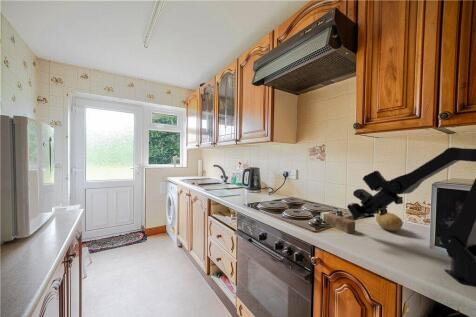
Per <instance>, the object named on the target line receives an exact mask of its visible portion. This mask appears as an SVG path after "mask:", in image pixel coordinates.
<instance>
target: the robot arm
mask: <svg viewBox="0 0 476 317" xmlns="http://www.w3.org/2000/svg"><path fill="white" fill-rule="evenodd" d="M460 161H461V162H471V163H472V162H473V163H476V148H461V147H453V146H452V147H448V148H446V149H445V150H444V151H443V152H441V153H440V154H438V155H436V156H434V157H433V158H432V159H430V160H428V161H427V162H425V163H424V164H422V165H420V166H419V167H417V168H415V169H414V170H413V171H410V172H408V173H405V174H403V175H398V176H396V177H394V178H391V179H390V180H386V178H385V177H384V176H383V175H382V174H381V172H380V171H379V170H374V171H373V172H370V173H368V174H366V175H364V176H363V178H362V181H363V182H364V183H365V184H366V185H367V186H368V187H367V188H369V189H370V190H371V191H375V192H376V193H375V194H373V195H372V193H370V192H369V191H368V190H366V189H363V188H357V189H355V190H354V191H353V194H352V195H353V196H354V197H355V198H356V199H358V200H359V201H360V203H361V205H360V204H359V203H358V202H353V203H349V204H347V209H348V210H349V213H351V215H352V216H353V217H352V219H353V221H355V220H356V221H357V220H363V219H370V218H376V216H375V215H377V214H378V213H380V212H381V213H380V214H379V215H380V216H382V215H385V214H387V212H388V206H389V205H391V204H392V203H394V204H395V205H402V204H403V203H404V202H403V201H404V200H403V199H404V197H403V196H399V195H407V194H411V193H412V192H414V191H415V190H416V189H418V188H419V187H420V185H421V184H423V182H424V181H426V180H428V179H429V178H432V177H434V176H435V175H437V174H438V173H440V172H442V171H444V170H446V169H448V168H449V167H451V166H453V165H454V164H456V163H458V162H460ZM441 228H442V229H441V230H440V232H438V235H439V242H440V243H441V244H442V245H443V248H445V249H446V253H447V256H448V258H450V259H451V261H450V262H451V263H450V264H451V265H450V269H446V268H444V272H446V274H448V275H449V276H451V277H452V278H453V279H454V280H455V281H457V282H458V283H460V284H464V285H470V286H476V178H475V179H474V181H473V183H472V185H471V187H470V189H469V192H468V194H467V196H466V197H465V200H464V202H463V204H462V206H461V208H460V210H459V212H458V214H457V217H456V219H455V220H452V221H447V222H443V224H442V227H441Z"/></svg>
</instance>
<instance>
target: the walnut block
mask: <svg viewBox="0 0 476 317" xmlns="http://www.w3.org/2000/svg"><path fill="white" fill-rule="evenodd" d="M321 218H322V219H323V221H324V222H326V223H329V224H330V225H331V226H332V227H331V226H330V227H331V228H334V229H336V230H338V231H340V232H343V233H345V234H352V233H355V232H356V221H355V220H354V219H353V220H352V219H349V218H347V217H343V216H341V215H338V214H335V213H333V212H328V211H324V212H320V219H321Z"/></svg>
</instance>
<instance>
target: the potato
mask: <svg viewBox="0 0 476 317" xmlns="http://www.w3.org/2000/svg"><path fill="white" fill-rule="evenodd" d="M379 212H380V211H379ZM380 213H381V212H380ZM380 213H378V214H375V215H376V216H375V222H376V223H377V224H378V226H380V227H381V228H383V229H384V230H387V231H391V232H394V231H395V232H396V231H398V230H400V229H401V228H402V227H403V224H404V222H403V219H401V217H399V216H398V215H396V214H394V213H390V212H388V211H387V214H385V215H382V216H380V215H379V214H380Z"/></svg>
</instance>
